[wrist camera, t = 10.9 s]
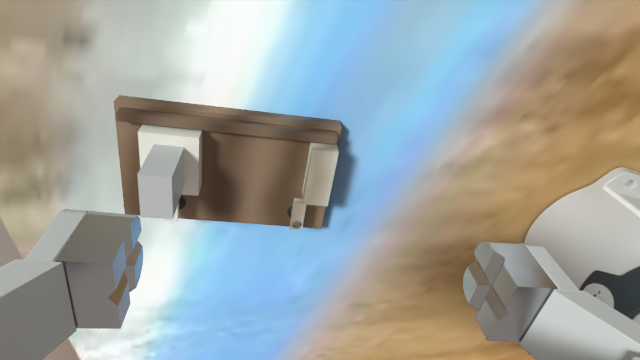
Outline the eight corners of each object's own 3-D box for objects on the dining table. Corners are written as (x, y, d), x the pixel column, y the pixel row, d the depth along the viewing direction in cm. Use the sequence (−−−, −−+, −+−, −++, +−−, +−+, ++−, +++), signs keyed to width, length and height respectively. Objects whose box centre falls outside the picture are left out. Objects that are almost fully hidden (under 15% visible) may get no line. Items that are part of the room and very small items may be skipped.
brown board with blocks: (340, 120, 40) (345, 138, 37) (320, 220, 46) (323, 241, 43) (119, 95, 37) (104, 112, 34) (129, 205, 43) (118, 228, 40)
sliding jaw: (202, 128, 38) (188, 167, 32) (201, 210, 42) (188, 257, 36) (144, 121, 37) (118, 161, 31) (149, 205, 41) (128, 254, 36)
